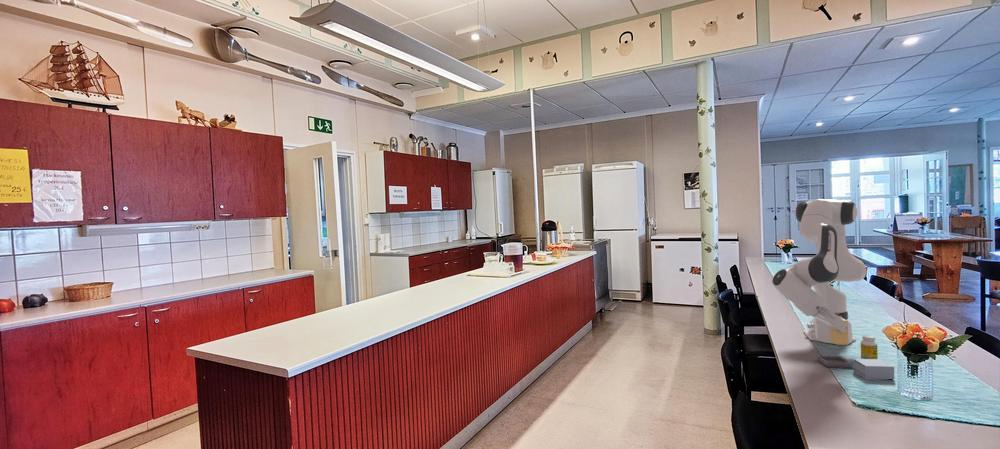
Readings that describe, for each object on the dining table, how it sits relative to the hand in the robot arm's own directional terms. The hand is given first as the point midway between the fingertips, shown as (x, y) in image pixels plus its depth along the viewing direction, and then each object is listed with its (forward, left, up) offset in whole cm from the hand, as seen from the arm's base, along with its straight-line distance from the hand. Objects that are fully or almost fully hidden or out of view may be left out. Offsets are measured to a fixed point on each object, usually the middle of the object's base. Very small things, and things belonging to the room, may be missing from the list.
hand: (841, 330), depth 171 cm
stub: (0, -1, -5) cm, 5 cm away
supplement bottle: (-18, +19, -17) cm, 31 cm away
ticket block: (+1, +10, -17) cm, 20 cm away
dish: (-11, +3, -17) cm, 21 cm away
